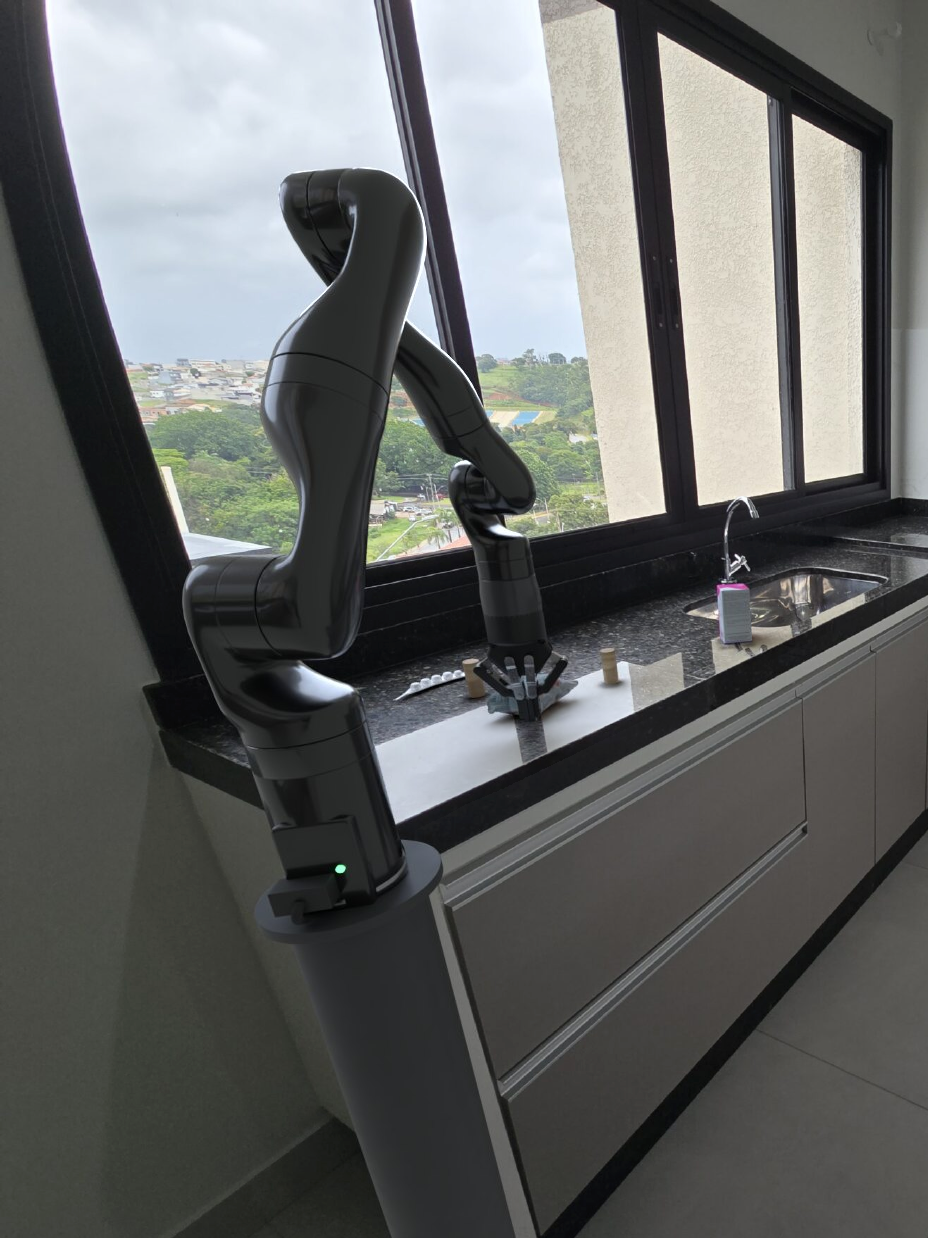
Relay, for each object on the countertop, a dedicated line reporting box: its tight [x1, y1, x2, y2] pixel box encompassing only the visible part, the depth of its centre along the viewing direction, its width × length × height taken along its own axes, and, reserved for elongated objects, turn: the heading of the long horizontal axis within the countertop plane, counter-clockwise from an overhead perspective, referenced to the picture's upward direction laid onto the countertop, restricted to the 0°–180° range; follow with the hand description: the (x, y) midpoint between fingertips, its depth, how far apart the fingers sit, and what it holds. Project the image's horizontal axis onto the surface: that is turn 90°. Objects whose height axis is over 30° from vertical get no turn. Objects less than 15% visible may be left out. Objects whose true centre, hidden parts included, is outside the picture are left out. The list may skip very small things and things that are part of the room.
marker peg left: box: [462, 658, 486, 699], centre depth 122 cm, size 2×2×6 cm
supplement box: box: [716, 583, 753, 646], centre depth 150 cm, size 6×6×12 cm
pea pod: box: [394, 669, 465, 702], centre depth 126 cm, size 15×4×2 cm, turn 151°
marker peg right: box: [599, 647, 620, 685], centre depth 128 cm, size 2×2×6 cm
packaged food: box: [486, 673, 579, 716], centre depth 117 cm, size 9×12×5 cm
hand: (531, 719), depth 110 cm, fingers closed
